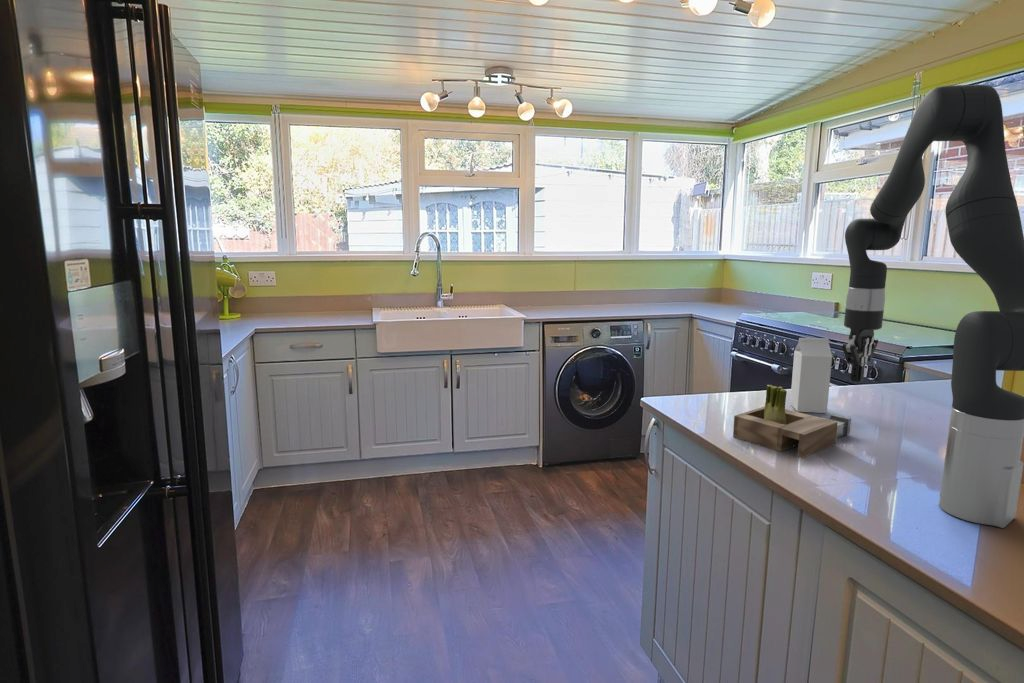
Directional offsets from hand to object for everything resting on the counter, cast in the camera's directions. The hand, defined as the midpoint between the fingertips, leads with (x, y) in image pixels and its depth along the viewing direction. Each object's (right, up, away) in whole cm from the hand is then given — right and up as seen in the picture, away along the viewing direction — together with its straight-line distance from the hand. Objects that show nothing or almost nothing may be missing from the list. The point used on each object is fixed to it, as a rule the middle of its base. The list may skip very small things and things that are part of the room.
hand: (856, 380), depth 134 cm
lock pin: (-11, -13, -6) cm, 17 cm away
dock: (-20, -13, -6) cm, 25 cm away
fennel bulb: (-21, -13, -4) cm, 25 cm away
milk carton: (-3, -9, +17) cm, 20 cm away
